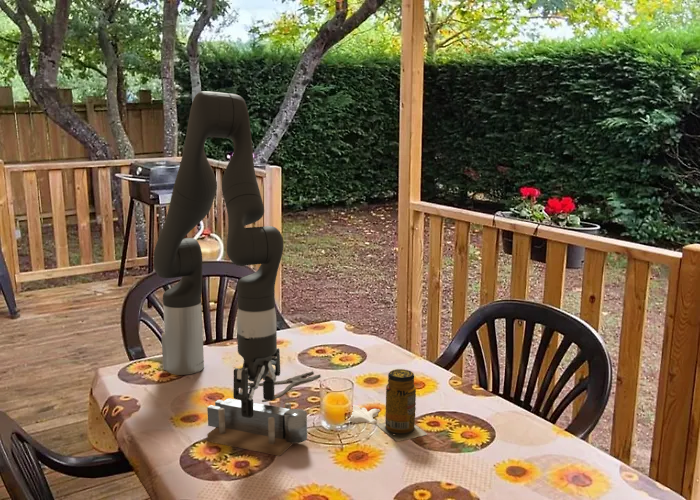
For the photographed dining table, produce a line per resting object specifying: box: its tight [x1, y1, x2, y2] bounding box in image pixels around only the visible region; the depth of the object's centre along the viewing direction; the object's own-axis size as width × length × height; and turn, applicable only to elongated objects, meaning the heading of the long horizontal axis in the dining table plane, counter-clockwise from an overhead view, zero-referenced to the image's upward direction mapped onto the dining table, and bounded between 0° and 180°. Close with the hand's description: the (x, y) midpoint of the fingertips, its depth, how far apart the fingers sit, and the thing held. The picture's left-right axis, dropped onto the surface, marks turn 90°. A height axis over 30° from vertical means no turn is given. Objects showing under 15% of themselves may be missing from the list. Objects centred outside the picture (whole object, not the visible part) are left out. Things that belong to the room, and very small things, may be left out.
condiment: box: [376, 368, 428, 442], centre depth 138 cm, size 7×8×12 cm
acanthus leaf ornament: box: [350, 404, 381, 425], centre depth 145 cm, size 8×7×2 cm
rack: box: [206, 399, 294, 457], centre depth 135 cm, size 16×10×6 cm, turn 68°
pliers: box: [248, 370, 321, 403], centre depth 162 cm, size 10×1×20 cm
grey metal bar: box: [206, 398, 308, 444], centre depth 135 cm, size 21×4×5 cm, turn 68°
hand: (258, 407), depth 134 cm, fingers open, 8 cm apart
